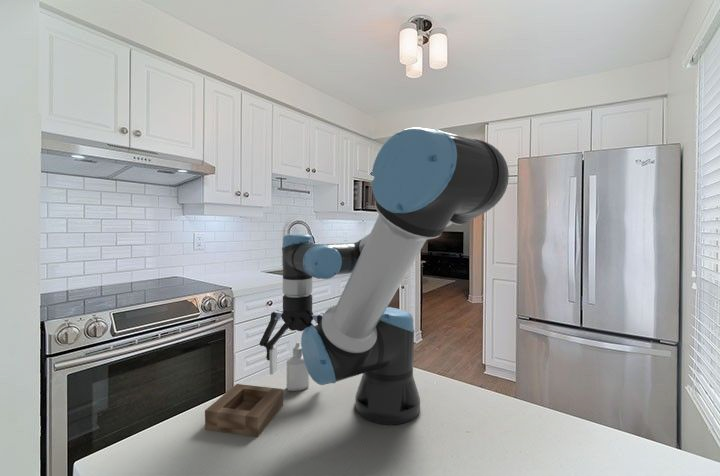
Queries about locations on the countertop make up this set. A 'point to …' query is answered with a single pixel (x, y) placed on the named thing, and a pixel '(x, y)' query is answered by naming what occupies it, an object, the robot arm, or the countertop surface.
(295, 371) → the eye dropper bottle
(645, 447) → the countertop surface
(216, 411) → the walnut bottle stand
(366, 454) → the countertop surface
